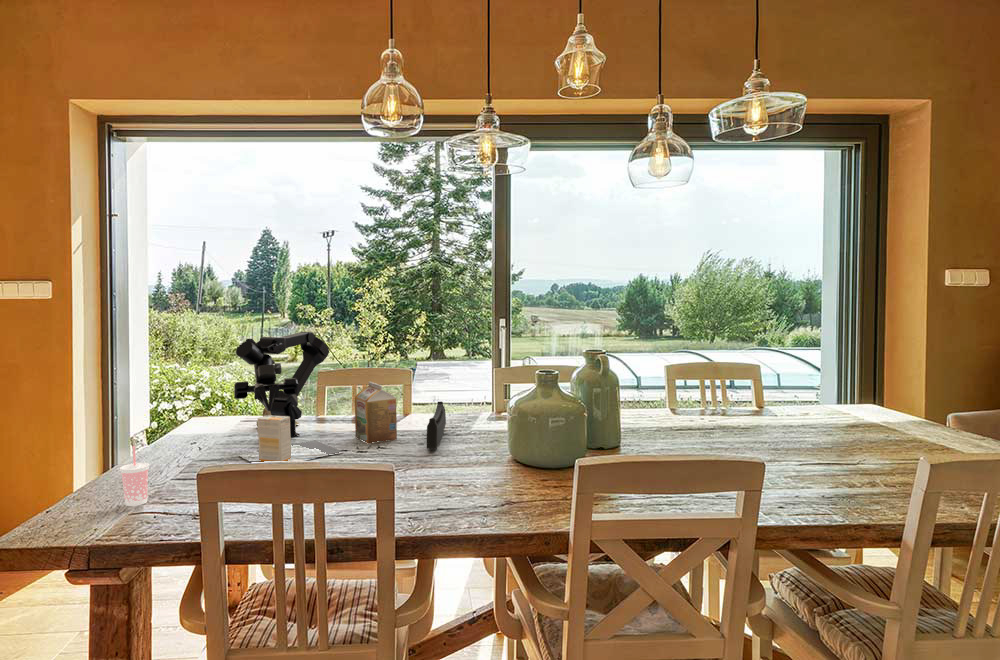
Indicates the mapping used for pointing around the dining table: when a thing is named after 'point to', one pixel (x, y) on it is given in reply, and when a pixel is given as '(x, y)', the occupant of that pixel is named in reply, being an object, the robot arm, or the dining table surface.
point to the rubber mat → (317, 447)
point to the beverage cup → (135, 482)
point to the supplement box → (274, 438)
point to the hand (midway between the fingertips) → (269, 410)
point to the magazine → (436, 427)
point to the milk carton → (375, 414)
